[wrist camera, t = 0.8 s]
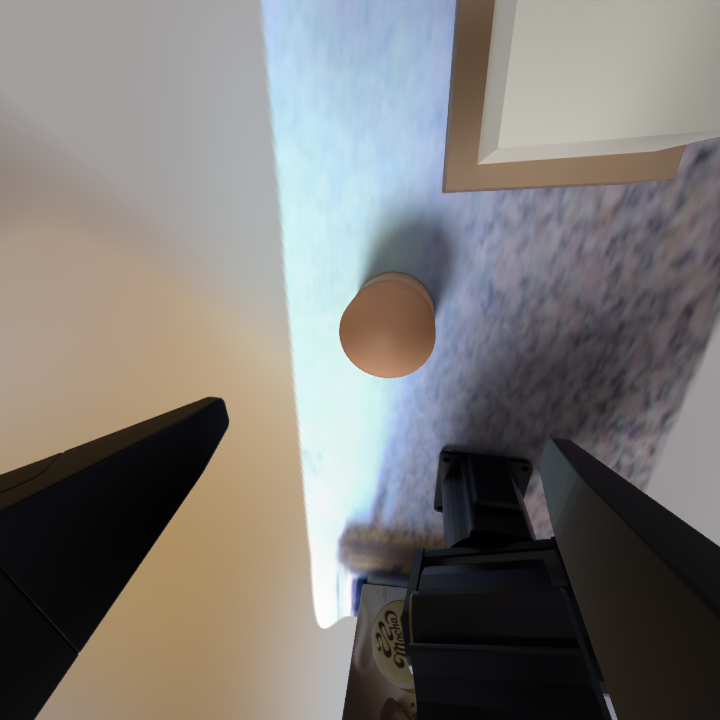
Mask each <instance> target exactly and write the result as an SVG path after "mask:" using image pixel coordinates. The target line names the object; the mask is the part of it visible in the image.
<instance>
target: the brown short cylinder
mask: <svg viewBox="0 0 720 720" xmlns="http://www.w3.org/2000/svg"><path fill="white" fill-rule="evenodd" d="M339 335H340V341H341V345H342V347H343V350H344V352H345V353H346V355H347V357H348V358H349V359H350V361H351V362H352V363H353V364H354V365H356V366H357V367H358V368H359V369H361V370H362V371H364V372H366V373H368V374H371V375H373V376H377V377H382V378H396V377H402V376H405V375H408V374H410V373H412V372H414V371H416V370H417V369H419V368H420V367H421V366H422V365H423V364H424V363H425V362H426V361H427V359H428V358H429V356H430V355H431V353H432V351H433V348H434V344H435V335H436V332H435V316H434V305H433V300H432V297H431V295H430V293H429V291H428V290H427V288H426V287H425V286H424V285H423V284H422V283H421V282H420V281H419V280H417V279H416V278H414V277H412V276H411V275H408V274H405V273H400V272H388V273H383V274H380V275H377V276H375V277H373V278H372V279H371V280H369V281H368V282H367V283H366V284H365V285H364V286H363V287H362V288H361V290H360V291H359V292H358V294H357V295H356V296H355V298H354V299H353V300H352V301H351V303H350V304H349V305H348V307H347V308H346V310H345V311H344V313H343V316H342V318H341V322H340V328H339Z"/></svg>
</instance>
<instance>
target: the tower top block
mask: <svg viewBox="0 0 720 720" xmlns="http://www.w3.org/2000/svg"><path fill="white" fill-rule="evenodd" d="M716 137H720V0H495V5H494V15H493V24H492V33H491V42H490V51H489V61H488V70H487V79H486V88H485V97H484V107H483V116H482V125H481V134H480V143H479V153H478V162H477V164H491V163H504V162H518V161H531V160H545V159H558V158H572V157H585V156H599V155H612V154H626V153H639V152H652V151H659V150H663V149H667V148H672V147H676V146H681V145H685V144H689V143H694V142H698V141H702V140H707V139H711V138H716Z"/></svg>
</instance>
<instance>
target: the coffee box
mask: <svg viewBox="0 0 720 720" xmlns="http://www.w3.org/2000/svg"><path fill="white" fill-rule="evenodd" d="M406 592H407V588H400V587H391V586H381V585H371V584H363V587H362V593H361V599H360V606H359V612H358V619H357V625H356V632H355V639H354V646H353V651H352V659H351V665H350V671H349V677H348V684H347V690H346V697H345V703H344V709H343V716H342V720H417V707H416V695H415V686H414V678H413V676H412V674H411V672H410V669H409V666H408V662H407V658H406V654H405V647H404V642H403V640H402V637H401V628H402V624H401V615H402V611H403V606H404V601H405V597H406Z"/></svg>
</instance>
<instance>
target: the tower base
mask: <svg viewBox="0 0 720 720" xmlns="http://www.w3.org/2000/svg"><path fill="white" fill-rule="evenodd" d="M494 5H495V0H456V10H455V24H454V37H453V51H452V64H451V78H450V91H449V105H448V118H447V132H446V145H445V159H444V172H443V186H442V193H454V192H474V191H495V190H515V189H536V188H556V187H577V186H597V185H617V184H628V183H638V182H648V181H659V180H669V179H674V176H675V173H676V171H677V168H678V165H679V163H680V160H681V157H682V155H683V152H684V149H685V147H686V144H685V145H681V146H676V147H672V148H667V149H663V150H659V151H652V152H639V153H626V154H612V155H599V156H585V157H572V158H558V159H545V160H531V161H518V162H504V163H491V164H477V162H478V153H479V143H480V134H481V125H482V116H483V107H484V97H485V88H486V79H487V70H488V61H489V51H490V42H491V33H492V24H493V15H494Z"/></svg>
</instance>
